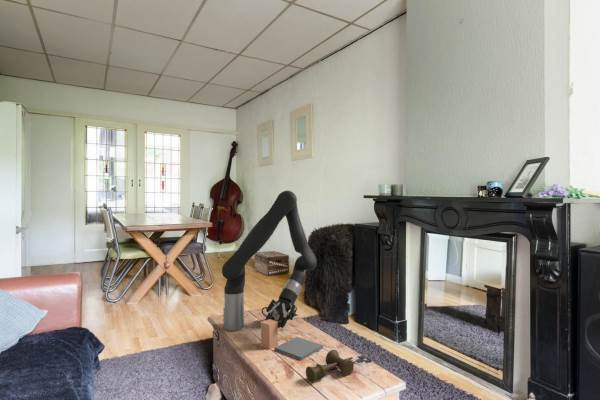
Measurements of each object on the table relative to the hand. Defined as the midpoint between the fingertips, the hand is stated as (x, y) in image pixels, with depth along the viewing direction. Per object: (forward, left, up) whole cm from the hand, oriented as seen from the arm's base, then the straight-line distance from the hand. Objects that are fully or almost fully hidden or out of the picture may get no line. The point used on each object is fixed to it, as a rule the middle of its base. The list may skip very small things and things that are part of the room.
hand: (273, 324), depth 144 cm
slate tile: (+12, +3, -8) cm, 15 cm away
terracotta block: (0, -2, -8) cm, 9 cm away
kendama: (+33, -5, -9) cm, 35 cm away
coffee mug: (-15, +17, -8) cm, 24 cm away
